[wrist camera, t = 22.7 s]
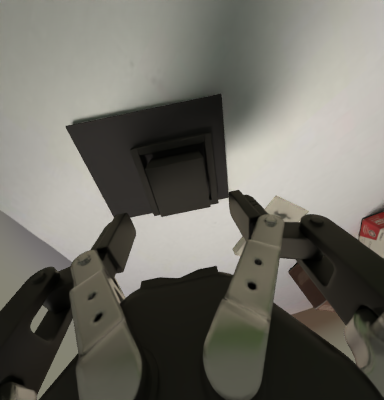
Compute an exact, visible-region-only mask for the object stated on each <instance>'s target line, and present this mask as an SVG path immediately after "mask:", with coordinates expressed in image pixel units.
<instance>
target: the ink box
mask: <svg viewBox="0 0 384 400" xmlns="http://www.w3.org/2000/svg"><path fill="white" fill-rule="evenodd" d="M359 241H360V242H361V243H363V244H364V245H366V246H367V247H368V248H370V249H371V250H373V251H374V252H375V253H377V254H378V255H379V256H381V257H382V258H384V212H381V213H379V214H376V215H373V216H371V217H368V218H365V219H363V221H362V226H361V231H360V236H359Z"/></svg>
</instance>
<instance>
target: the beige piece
mask: <svg viewBox="0 0 384 400" xmlns="http://www.w3.org/2000/svg"><path fill="white" fill-rule="evenodd" d="M265 211H266V212H267V213H268V214H272V215H276V216H279V217H281V218H282V219H283V220H284V222H299V221H300V220H301V217H302V216H304V215H306V214H307V213H308V212H309V211H307V210H305V209H303V208H301V207H299V206H297V205H295V204H293V203H291V202H288V201H286V200H284V199H282V198H280V197H278V196H275V197H274V198H273V200H272V201H271V202H270V203H269V205H268V206H267V207H266V208H265ZM245 244H246V241H245V239H244V237H242V238H241V239H240V240H239V242H238V243H237V244H236V245H235V247H234V248H233V251H234V254H235V255H238V256H241V254H242V251H243V249H244V246H245Z"/></svg>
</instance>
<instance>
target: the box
mask: <svg viewBox="0 0 384 400" xmlns="http://www.w3.org/2000/svg"><path fill="white" fill-rule="evenodd" d="M289 274H290V275H291V277H292V278H293V280H294V281H295V282H296V284H297V285H298V286H299V288H300V289H301V291H302V292H303V293H304V295H305V296H306V297H307V299H308V300H309V301H310V303H311V304H312V305H313V307H314V308H315V309H316V310H323V311H330V312H335V310H334V309H333V308H332V306H331V305H330V304H329V302H328V301H327V300H326V299H325V297H324V296H323V295H322V293H321V292H320V291H319V289H318V288H317V287H316V285H315V284H314V283H313V282H312V280H311V279H310V278H309V276H308V275H307V274H306V272H305V271H304V270H303V268H302V267H301V266H300V265H299V263H298V264H296V266H294V267H293V268H292V269H291V270H290V271H289Z"/></svg>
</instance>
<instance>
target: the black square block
mask: <svg viewBox="0 0 384 400" xmlns="http://www.w3.org/2000/svg"><path fill="white" fill-rule="evenodd" d="M145 171H146V174H147V177H148V180H149V182H150V185H151V188H152V191H153V194H154V197H155V200H156V203H157V205H158V208H159V211H160V214H161V217H163V216H168V215H173V214H178V213H183V212H187V211H192V210H197V209H202V208H207V207H210V201H209V194H208V187H207V180H206V173H205V166H204V159H203V156H202V155H201V153H200V152H199V150H198V149H196V150H191V151H187V152H182V153H177V154H172V155H167V156H163V157H158V158H153V159H151V160H150V162H149V164H148V165H147V167H146V169H145Z"/></svg>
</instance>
